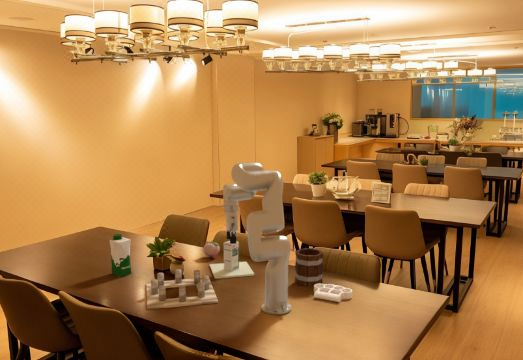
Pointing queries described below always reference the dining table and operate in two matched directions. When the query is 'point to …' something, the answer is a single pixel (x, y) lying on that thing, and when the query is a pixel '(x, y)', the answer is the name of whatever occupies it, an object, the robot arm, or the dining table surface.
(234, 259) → the syrup box
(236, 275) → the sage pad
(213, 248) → the decorative fruit
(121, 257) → the milk carton
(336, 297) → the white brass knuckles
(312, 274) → the mug
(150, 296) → the post board
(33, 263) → the dining table surface
